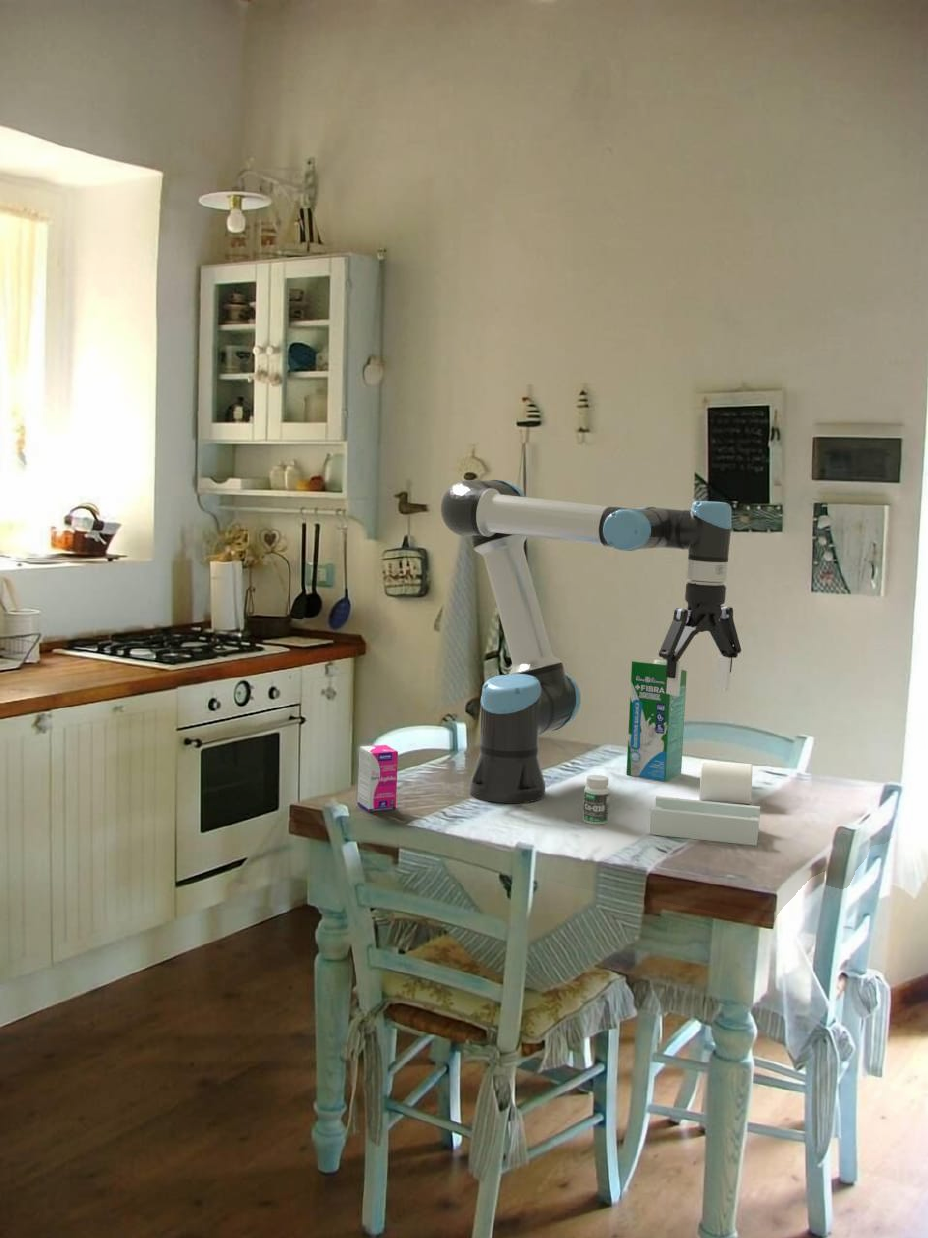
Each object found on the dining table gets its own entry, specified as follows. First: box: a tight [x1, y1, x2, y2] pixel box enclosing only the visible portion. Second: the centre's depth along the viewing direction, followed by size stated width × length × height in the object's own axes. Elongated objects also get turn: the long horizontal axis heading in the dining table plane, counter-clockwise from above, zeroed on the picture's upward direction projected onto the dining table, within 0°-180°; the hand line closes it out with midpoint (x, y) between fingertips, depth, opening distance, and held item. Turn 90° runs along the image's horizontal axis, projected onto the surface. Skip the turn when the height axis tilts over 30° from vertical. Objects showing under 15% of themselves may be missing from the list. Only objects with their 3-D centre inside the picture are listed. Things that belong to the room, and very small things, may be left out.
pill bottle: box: [582, 774, 611, 826], centre depth 230 cm, size 5×5×8 cm
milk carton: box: [626, 659, 688, 782], centre depth 267 cm, size 9×9×25 cm
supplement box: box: [357, 744, 399, 813], centre depth 235 cm, size 6×6×12 cm
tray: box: [648, 795, 761, 847], centre depth 225 cm, size 19×10×4 cm, turn 75°
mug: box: [698, 760, 753, 805], centre depth 249 cm, size 12×10×8 cm
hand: (697, 692), depth 238 cm, fingers open, 13 cm apart
